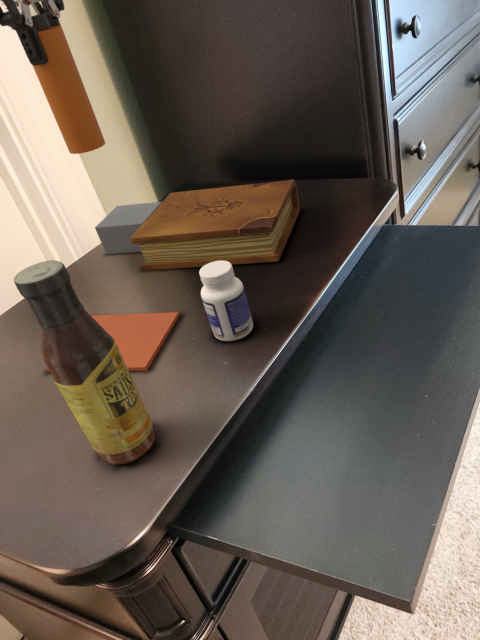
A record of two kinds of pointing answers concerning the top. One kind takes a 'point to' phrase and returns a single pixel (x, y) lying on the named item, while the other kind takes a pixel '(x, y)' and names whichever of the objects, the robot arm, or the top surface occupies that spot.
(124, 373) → the sauce bottle
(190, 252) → the diary
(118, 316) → the mat
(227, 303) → the pill bottle
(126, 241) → the grey stand
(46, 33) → the amber bottle
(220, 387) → the top surface
